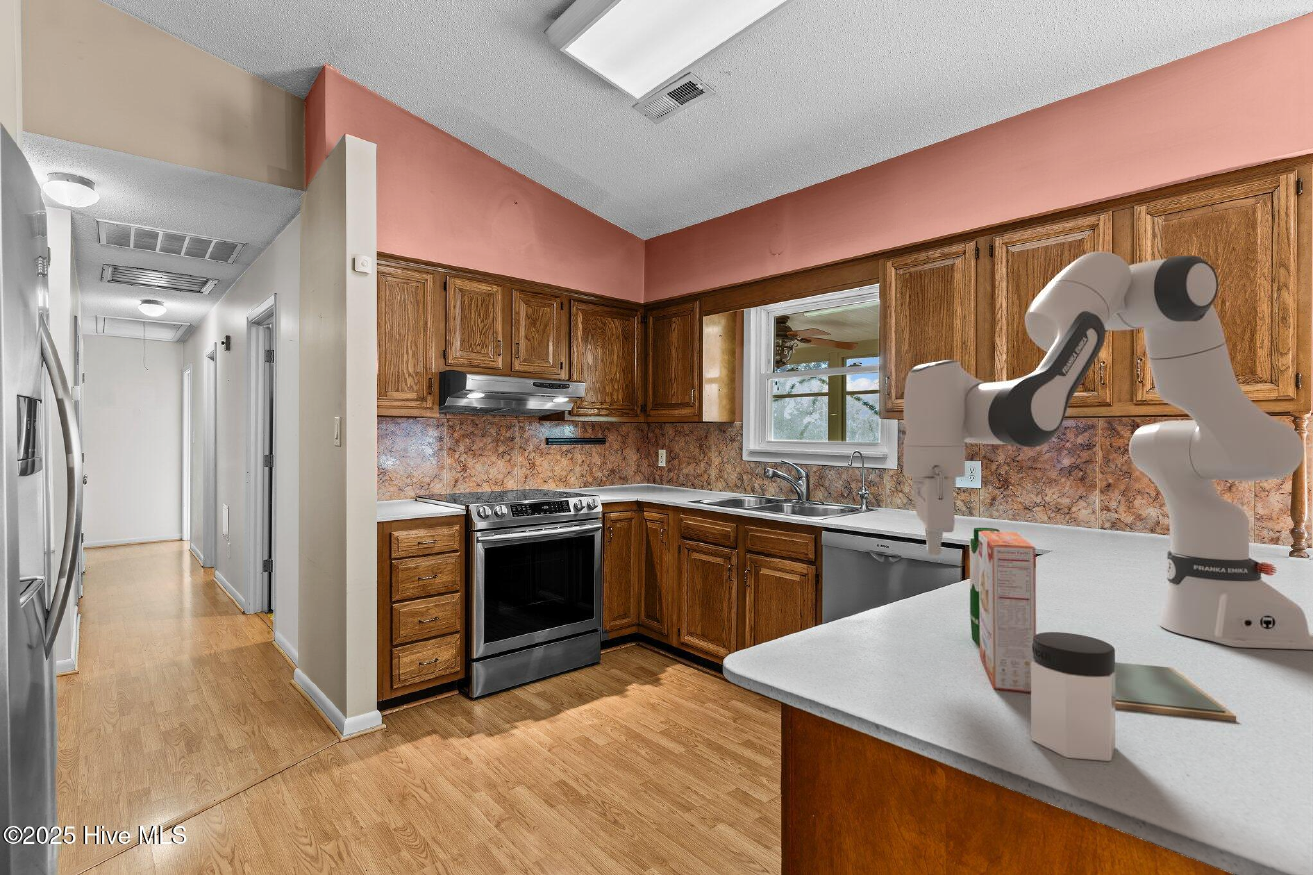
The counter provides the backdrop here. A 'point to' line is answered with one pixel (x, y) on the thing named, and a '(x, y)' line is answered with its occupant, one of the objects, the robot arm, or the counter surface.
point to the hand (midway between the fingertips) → (933, 553)
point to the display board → (1163, 693)
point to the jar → (1073, 695)
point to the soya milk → (975, 583)
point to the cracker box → (1007, 608)
